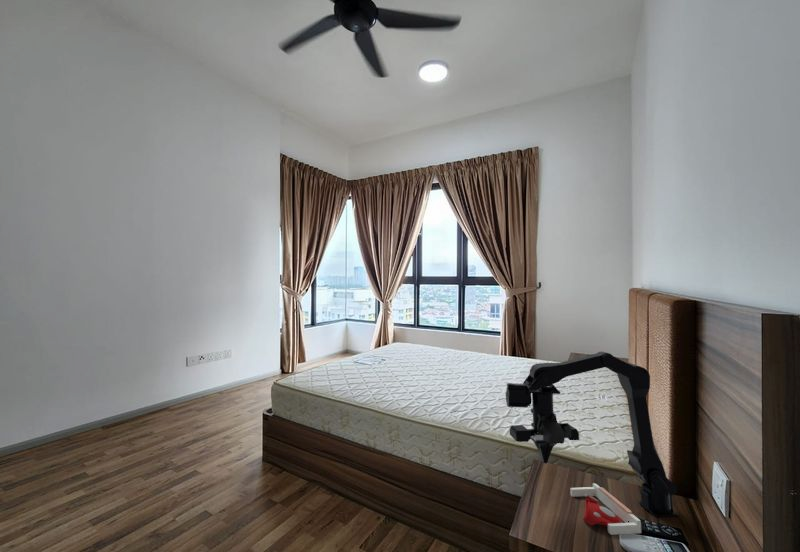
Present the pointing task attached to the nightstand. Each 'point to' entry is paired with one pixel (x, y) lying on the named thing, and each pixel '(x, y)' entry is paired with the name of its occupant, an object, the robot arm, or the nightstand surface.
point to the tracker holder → (598, 513)
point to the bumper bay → (615, 506)
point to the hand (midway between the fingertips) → (544, 462)
